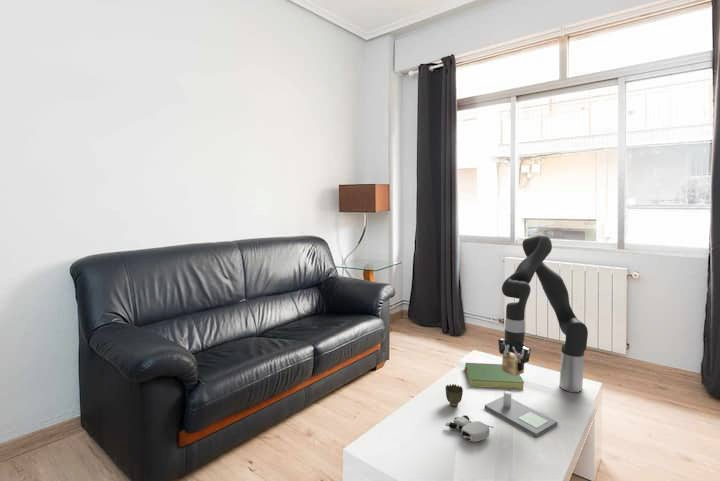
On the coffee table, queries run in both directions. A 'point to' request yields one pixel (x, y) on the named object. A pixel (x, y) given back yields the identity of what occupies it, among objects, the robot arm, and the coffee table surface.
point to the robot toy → (470, 428)
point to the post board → (521, 415)
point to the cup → (454, 394)
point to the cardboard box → (511, 364)
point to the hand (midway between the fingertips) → (513, 367)
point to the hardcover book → (492, 376)
